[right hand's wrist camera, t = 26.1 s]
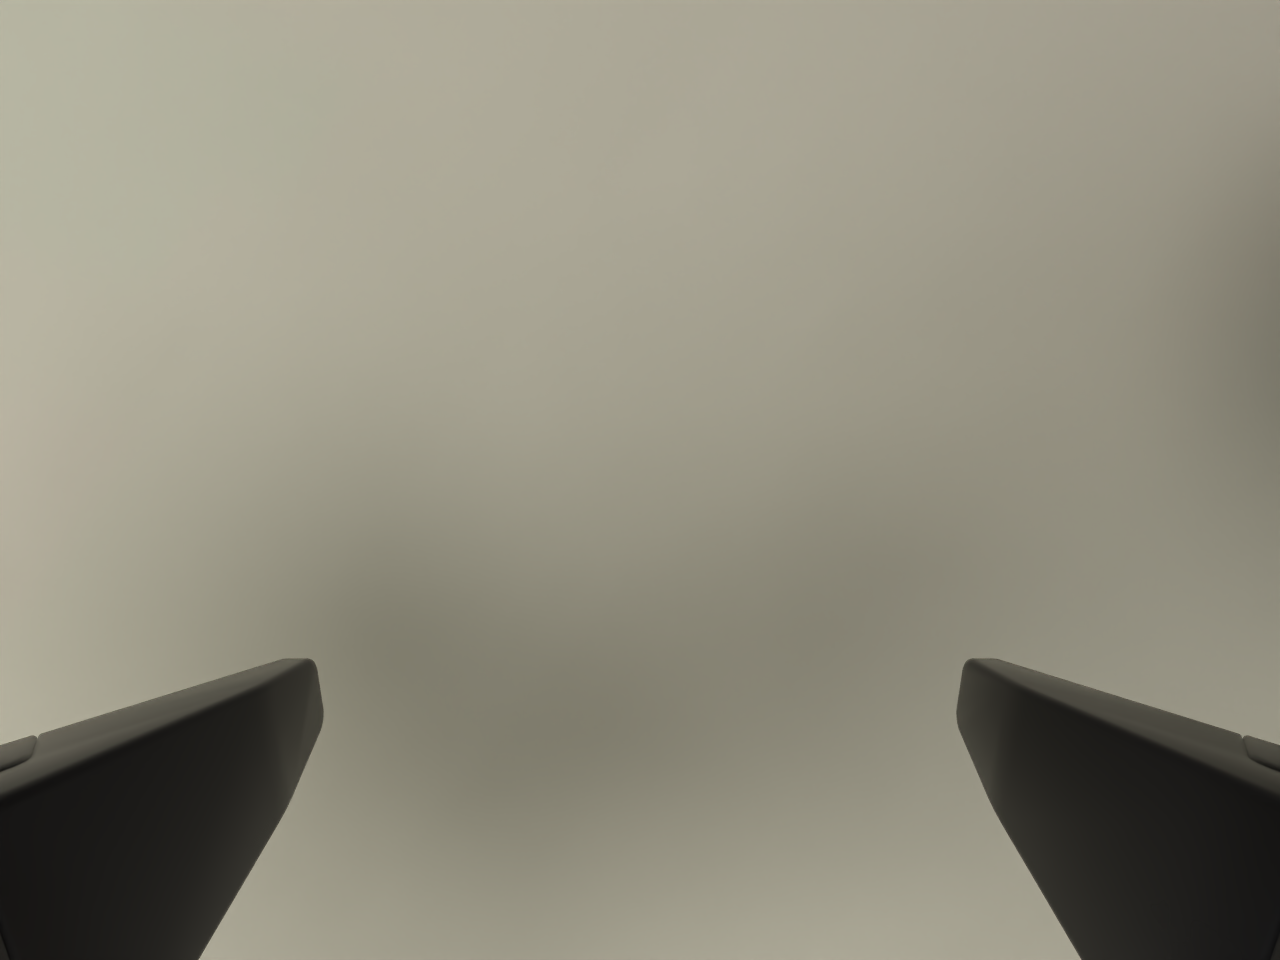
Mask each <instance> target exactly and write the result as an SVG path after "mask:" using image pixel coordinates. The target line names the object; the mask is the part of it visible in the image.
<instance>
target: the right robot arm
mask: <svg viewBox="0 0 1280 960" xmlns="http://www.w3.org/2000/svg"><path fill="white" fill-rule="evenodd" d="M322 723H323V704H322V697H321V691H320V684H319V678H318V672H317V667H316V665H315V663H314V661H313V660H311V659H308V658H288V659H281V660H278V661H275V662H271V663H268V664H265V665H262V666H258V667H255V668H252V669H249V670H246V671H242V672H239V673H236V674H233V675H229V676H226V677H223V678H220V679H216V680H213V681H210V682H207V683H204V684H200V685H197V686H194V687H191V688H187V689H184V690H181V691H178V692H174V693H171V694H168V695H165V696H162V697H158V698H155V699H152V700H149V701H145V702H142V703H139V704H136V705H133V706H129V707H126V708H123V709H120V710H116V711H113V712H110V713H107V714H103V715H100V716H97V717H94V718H91V719H87V720H84V721H81V722H78V723H74V724H71V725H68V726H65V727H62V728H58V729H55V730H52V731H49V732H45V733H42V734H40V735H39V736H38V739H37V737H36V736H29V737H26V738H22V739H19V740H16V741H13V742H9V743H6V744H3V745H0V960H199V958H200V956H201V954H202V953H203V951H204V949H205V948H206V946H207V944H208V943H209V941H210V939H211V937H212V936H213V934H214V932H215V931H216V929H217V927H218V925H219V924H220V922H221V920H222V919H223V917H224V915H225V914H226V912H227V910H228V908H229V907H230V905H231V903H232V902H233V900H234V898H235V897H236V895H237V893H238V891H239V890H240V888H241V886H242V885H243V883H244V881H245V879H246V878H247V876H248V874H249V873H250V871H251V869H252V868H253V866H254V864H255V862H256V861H257V859H258V857H259V856H260V854H261V852H262V850H263V849H264V847H265V845H266V844H267V842H268V840H269V839H270V837H271V835H272V833H273V832H274V830H275V828H276V827H277V825H278V823H279V821H280V820H281V818H282V816H283V814H284V812H285V810H286V809H287V806H288V804H289V802H290V800H291V798H292V796H293V793H294V791H295V789H296V786H297V784H298V782H299V779H300V777H301V775H302V772H303V770H304V768H305V765H306V763H307V761H308V758H309V756H310V754H311V751H312V749H313V747H314V744H315V742H316V740H317V737H318V735H319V733H320V730H321V727H322ZM957 723H958V727H959V730H960V733H961V735H962V738H963V740H964V742H965V745H966V747H967V749H968V752H969V754H970V756H971V759H972V761H973V763H974V766H975V768H976V770H977V773H978V775H979V777H980V780H981V782H982V784H983V787H984V789H985V791H986V794H987V796H988V798H989V800H990V802H991V804H992V806H993V809H994V810H995V812H996V814H997V816H998V818H999V820H1000V821H1001V823H1002V825H1003V827H1004V828H1005V830H1006V832H1007V833H1008V835H1009V837H1010V839H1011V840H1012V842H1013V844H1014V845H1015V847H1016V849H1017V850H1018V852H1019V854H1020V856H1021V857H1022V859H1023V861H1024V862H1025V864H1026V866H1027V868H1028V869H1029V871H1030V873H1031V874H1032V876H1033V878H1034V879H1035V881H1036V883H1037V885H1038V886H1039V888H1040V890H1041V891H1042V893H1043V895H1044V897H1045V898H1046V900H1047V902H1048V903H1049V905H1050V907H1051V908H1052V910H1053V912H1054V914H1055V915H1056V917H1057V919H1058V920H1059V922H1060V924H1061V926H1062V927H1063V929H1064V931H1065V932H1066V934H1067V936H1068V937H1069V939H1070V941H1071V943H1072V944H1073V946H1074V948H1075V949H1076V951H1077V953H1078V954H1079V956H1080V958H1081V960H1280V745H1277V744H1274V743H1271V742H1267V741H1264V740H1261V739H1258V738H1254V737H1251V736H1244V737H1243V739H1242V736H1241V735H1240V734H1238V733H1235V732H1231V731H1228V730H1225V729H1222V728H1218V727H1215V726H1212V725H1209V724H1206V723H1202V722H1199V721H1196V720H1193V719H1189V718H1186V717H1183V716H1180V715H1177V714H1173V713H1170V712H1167V711H1164V710H1160V709H1157V708H1154V707H1151V706H1147V705H1144V704H1141V703H1138V702H1135V701H1131V700H1128V699H1125V698H1122V697H1118V696H1115V695H1112V694H1109V693H1105V692H1102V691H1099V690H1096V689H1093V688H1089V687H1086V686H1083V685H1080V684H1076V683H1073V682H1070V681H1067V680H1064V679H1060V678H1057V677H1054V676H1051V675H1047V674H1044V673H1041V672H1038V671H1034V670H1031V669H1028V668H1025V667H1022V666H1018V665H1015V664H1012V663H1009V662H1005V661H1002V660H999V659H992V658H972V659H969V660H967V661H966V663H965V665H964V667H963V671H962V678H961V684H960V691H959V697H958V704H957Z"/></svg>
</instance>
